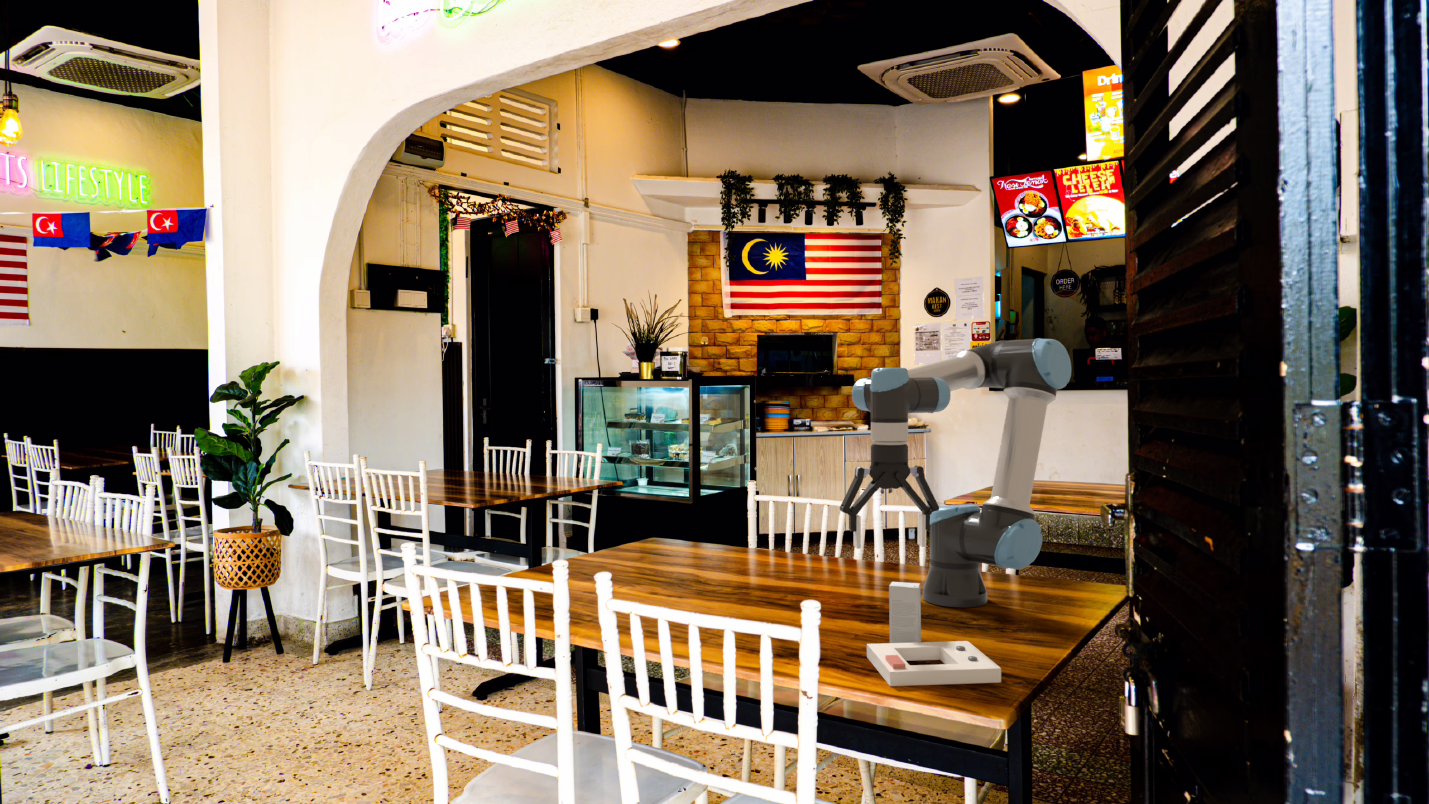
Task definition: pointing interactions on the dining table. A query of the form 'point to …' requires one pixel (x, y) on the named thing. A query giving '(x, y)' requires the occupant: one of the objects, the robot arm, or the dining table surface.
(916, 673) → the socket plate
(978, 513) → the robot arm
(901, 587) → the skincare box
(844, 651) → the dining table surface
